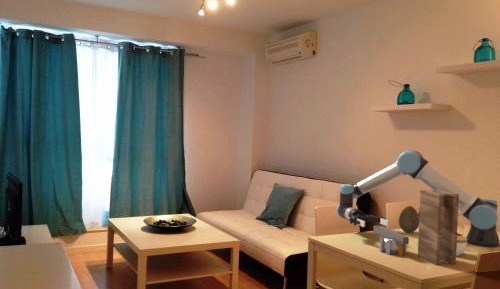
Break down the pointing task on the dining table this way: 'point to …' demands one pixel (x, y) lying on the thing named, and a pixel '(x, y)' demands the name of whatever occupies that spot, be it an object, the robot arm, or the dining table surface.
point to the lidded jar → (461, 245)
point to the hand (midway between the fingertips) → (376, 223)
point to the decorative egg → (409, 219)
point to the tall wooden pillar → (438, 226)
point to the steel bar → (391, 234)
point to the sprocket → (392, 246)
